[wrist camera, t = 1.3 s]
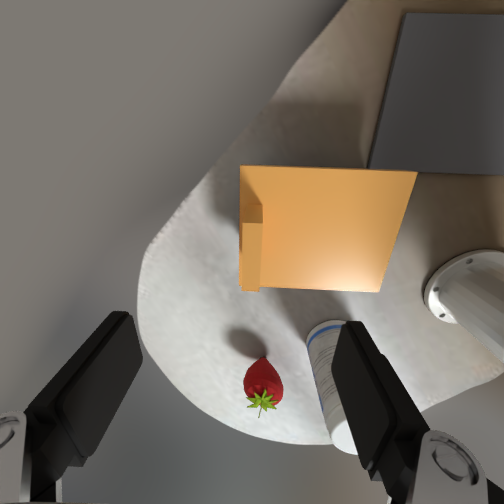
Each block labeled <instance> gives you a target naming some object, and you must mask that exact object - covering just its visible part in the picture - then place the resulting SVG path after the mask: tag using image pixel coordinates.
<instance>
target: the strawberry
mask: <svg viewBox="0 0 504 504" xmlns="http://www.w3.org/2000/svg"><path fill="white" fill-rule="evenodd" d="M243 384H244V391H245V393H246V395H247V396H248V397H249V398H248V397H246V398H247V399H248V400H250V401H251V402H253V403H254V404H252V405H250V406H247V407H254V408H257V407H258V406H259V405H260V406H261V408H263V409H264V410H265V411H266V412H267V407H268V408H272V409H276V408H275V407H274V405H276V404H278V403H279V402H280V401H281V399H282V397H283V385H282V382H281V379H280V376H279V374H278V373H277V371H276V370H275V369H274V367H273V366H272V365H271V364H270V363H269V361H268V360H267V359H266V358H264V357H262V358H260V359H259V360H257V361H256V362H255V363H253V364H252V365H251V366H250V367H249V368H248V370H247V372H246V375H245V377H244V380H243ZM260 412H261V409H260ZM259 416H260V413H259ZM258 418H259V417H258Z"/></svg>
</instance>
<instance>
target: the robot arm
mask: <svg viewBox="0 0 504 504" xmlns="http://www.w3.org/2000/svg"><path fill="white" fill-rule="evenodd" d="M424 301H425V305H426V307H427V308H428V310H429V311H430V312H431V313H432V314H433V315H434V316H435V317H436V318H438V319H440V320H442V321H444V322H449V323H457V324H460V325H461V326H462V327H463V328H464V329H466V330H467V331H468V332H469V333H470V334H471V335H472V336H473V337H475V338H476V339H477V340H478V341H479V342H480V343H481V344H482V345H484V346H485V347H486V348H487V349H488V350H489V351H490V352H491V353H493V354H494V355H495V356H496V357H497V358H498V359H499V360H500V361H502V362H503V363H504V253H503V252H501V251H497V250H488V249H483V250H475V251H471V252H468V253H464V254H462V255H460V256H457V257H455V258H453V259H452V260H450V261H448V262H447V263H445V264H444V265H443V266H441V267H440V268H439V269H438V270H437V271H436V272H435V273H434V274H433V276H432V277H431V278H430V280H429V282H428V284H427V286H426V288H425V292H424ZM142 360H143V356H142V352H141V349H140V344H139V340H138V336H137V332H136V328H135V324H134V320H133V317H132V316H131V315H129V313H128V312H126V311H113V312H111V313H110V314H109V315H108V317H107V318H106V319H105V320H104V321H103V322H102V323H101V324H100V326H99V327H98V328H97V329H96V330H95V331H94V332H93V333H92V335H91V336H90V337H89V338H88V339H87V340H86V341H85V342H84V344H83V345H82V346H81V347H80V348H79V349H78V350H77V352H75V354H74V355H73V356H72V357H71V358H70V359H69V360H68V361H67V363H66V364H65V365H64V366H63V367H62V368H61V369H60V370H59V372H58V373H57V374H56V375H55V376H54V377H53V378H52V380H51V381H50V382H49V383H48V384H47V385H46V386H45V387H44V388H43V390H42V391H41V392H40V393H39V394H38V395H37V396H36V397H35V399H34V400H33V401H32V402H31V403H30V404H29V406H28V408H27V409H26V410H25V411H24V412H20V411H11V412H6V413H4V414H1V415H0V504H93V503H62V481H61V477H62V475H63V473H64V472H65V470H66V468H67V467H68V466H76V467H83V465H84V463H85V461H86V460H87V458H88V456H91V455H92V454H93V453H94V452H95V450H96V449H97V447H98V445H99V443H100V441H101V439H102V438H103V436H104V434H105V432H106V430H107V428H108V426H109V424H110V423H111V421H112V419H113V417H114V415H115V413H116V411H117V409H118V408H119V406H120V404H121V402H122V400H123V398H124V396H125V395H126V393H127V391H128V389H129V387H130V385H131V383H132V381H133V380H134V378H135V376H136V374H137V372H138V370H139V368H140V367H141V364H142ZM331 373H332V376H333V379H334V382H335V385H336V388H337V391H338V395H339V398H340V401H341V404H342V407H343V410H344V413H345V416H346V419H347V422H348V425H349V428H350V432H351V435H352V438H353V441H354V444H355V447H356V450H357V453H358V456H359V459H360V462H361V465H362V467H363V468H364V469H365V470H368V473H369V476H370V479H371V481H383V484H384V486H385V489H386V492H387V494H388V495H389V497H388V502H387V504H504V490H502V489H501V488H500V487H498V486H497V485H495V484H494V483H493V482H491V481H490V480H488V479H487V478H486V476H485V472H484V470H483V468H482V466H481V464H480V463H479V461H478V460H477V459H476V457H475V456H474V455H473V453H472V452H471V451H470V450H469V449H468V448H467V447H466V446H465V445H464V444H462V443H461V442H460V441H458V440H457V439H456V438H454V437H453V436H451V435H449V434H447V433H445V432H441V431H437V430H430V428H429V426H428V425H427V423H426V422H425V420H424V418H423V417H422V415H421V413H420V412H419V410H418V408H417V407H416V405H415V403H414V402H413V400H412V399H411V397H410V395H409V394H408V392H407V390H406V389H405V387H404V385H403V384H402V382H401V380H400V379H399V377H398V376H397V374H396V372H395V371H394V369H393V367H392V366H391V364H390V362H389V361H388V359H387V358H386V357H385V356H384V355H383V354H381V353H380V351H379V350H378V348H377V346H376V345H375V343H374V341H373V340H372V338H371V336H370V334H369V333H368V331H367V329H366V328H365V326H364V324H363V323H362V322H361V321H346V323H345V324H342V326H341V330H340V334H339V337H338V341H337V345H336V349H335V352H334V356H333V360H332V364H331Z"/></svg>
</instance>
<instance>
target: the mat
mask: <svg viewBox="0 0 504 504" xmlns="http://www.w3.org/2000/svg"><path fill="white" fill-rule="evenodd" d="M367 169H388V170H408V171H414V172H432V173H460V174H487V175H504V15H494V14H446V13H406V14H405V15H404V16H403V19H402V23H401V27H400V32H399V36H398V40H397V44H396V49H395V53H394V57H393V61H392V66H391V70H390V74H389V78H388V83H387V87H386V91H385V96H384V100H383V104H382V108H381V113H380V117H379V121H378V125H377V130H376V134H375V138H374V142H373V147H372V151H371V155H370V159H369V164H368V168H367Z"/></svg>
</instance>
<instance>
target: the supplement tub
mask: <svg viewBox="0 0 504 504" xmlns="http://www.w3.org/2000/svg"><path fill="white" fill-rule="evenodd" d="M345 323H346V322H345V321H340V320H332V321H327V322H324V323H321V324H319V325H318V326H316V327H315V328H314V329H313V330H312V331H311V332H310V333H309V335H308V337H307V341H306V346H307V350H308V355H309V359H310V363H311V367H312V371H313V375H314V379H315V384H316V388H317V392H318V396H319V400H320V404H321V408H322V412H323V416H324V420H325V423H326V427H327V430H328V432H329V435H330V438H331V441H332V443H333V444H334V445H335V446H336V447H337V448H338V449H340V450H342V451H344V452H346V453H350V454H355V455H358V453H357V450H356V447H355V444H354V441H353V438H352V435H351V432H350V428H349V425H348V422H347V419H346V416H345V413H344V410H343V407H342V404H341V401H340V398H339V395H338V391H337V388H336V385H335V382H334V379H333V376H332V373H331V364H332V360H333V356H334V352H335V349H336V345H337V341H338V337H339V334H340V330H341V326H342V324H345Z"/></svg>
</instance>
